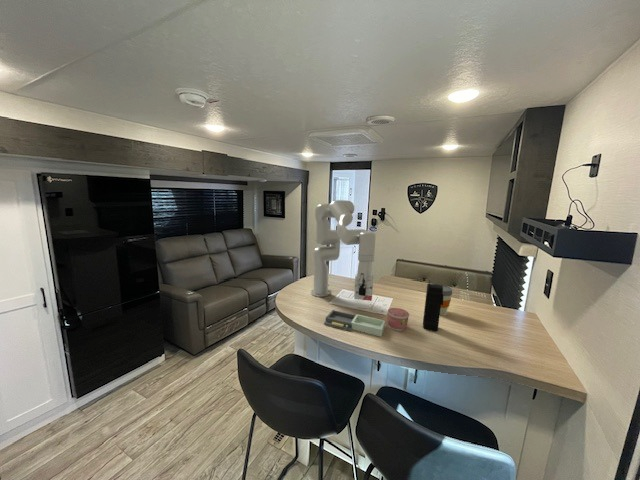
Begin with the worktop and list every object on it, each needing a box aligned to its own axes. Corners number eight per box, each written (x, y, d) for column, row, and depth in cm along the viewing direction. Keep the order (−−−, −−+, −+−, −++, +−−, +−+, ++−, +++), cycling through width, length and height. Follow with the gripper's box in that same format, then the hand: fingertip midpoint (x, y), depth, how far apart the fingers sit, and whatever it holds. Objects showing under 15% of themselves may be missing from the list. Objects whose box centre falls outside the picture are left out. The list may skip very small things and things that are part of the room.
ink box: (372, 297, 127) (373, 274, 125) (371, 301, 122) (373, 277, 120) (354, 295, 129) (355, 273, 127) (353, 299, 124) (355, 275, 122)
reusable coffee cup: (443, 319, 139) (447, 293, 137) (421, 310, 148) (424, 286, 146) (453, 312, 147) (456, 288, 145) (431, 305, 157) (434, 282, 154)
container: (385, 329, 126) (386, 314, 125) (387, 320, 136) (388, 306, 134) (407, 334, 122) (409, 318, 121) (407, 324, 132) (409, 309, 131)
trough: (356, 320, 134) (356, 314, 134) (384, 326, 128) (385, 320, 128) (350, 329, 125) (351, 322, 125) (381, 336, 119) (381, 329, 119)
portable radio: (438, 326, 131) (444, 280, 126) (440, 332, 125) (446, 284, 121) (422, 323, 133) (427, 278, 129) (423, 329, 128) (428, 281, 123)
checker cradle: (333, 313, 141) (333, 308, 141) (358, 318, 136) (358, 313, 135) (323, 324, 129) (324, 319, 128) (350, 331, 123) (350, 325, 123)
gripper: (363, 253, 131) (361, 286, 134) (353, 260, 116) (351, 297, 119) (377, 254, 128) (375, 289, 131) (369, 262, 113) (366, 300, 116)
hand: (363, 292), depth 125 cm, fingers closed on ink box, 5 cm apart
